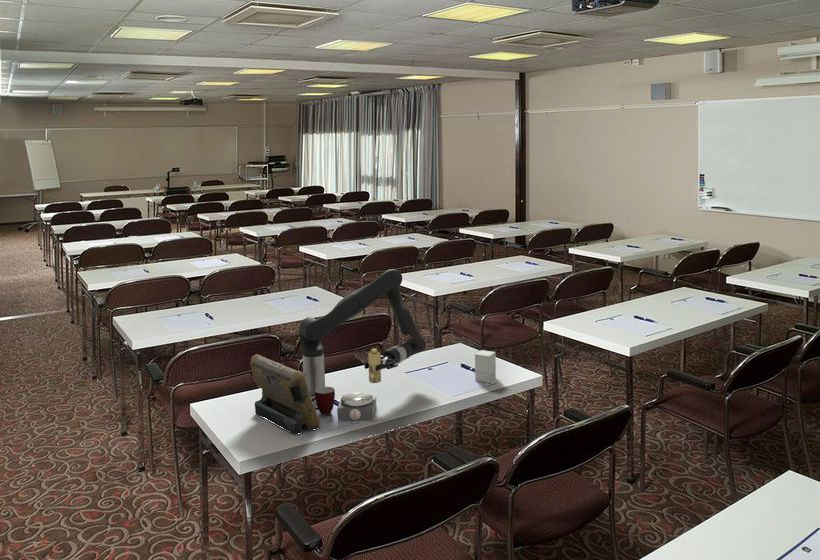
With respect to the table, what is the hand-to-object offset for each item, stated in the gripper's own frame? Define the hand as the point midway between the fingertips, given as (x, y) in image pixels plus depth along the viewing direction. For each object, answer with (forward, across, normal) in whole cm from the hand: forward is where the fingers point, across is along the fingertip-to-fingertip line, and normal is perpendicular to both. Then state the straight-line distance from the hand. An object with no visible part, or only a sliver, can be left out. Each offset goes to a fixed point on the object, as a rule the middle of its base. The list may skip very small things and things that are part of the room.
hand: (370, 367), depth 275 cm
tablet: (+28, -22, +18) cm, 40 cm away
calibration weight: (-3, 0, +7) cm, 7 cm away
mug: (+15, -14, +18) cm, 27 cm away
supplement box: (-54, +25, +18) cm, 62 cm away
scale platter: (+7, -2, +12) cm, 14 cm away
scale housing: (+7, -2, +18) cm, 19 cm away
